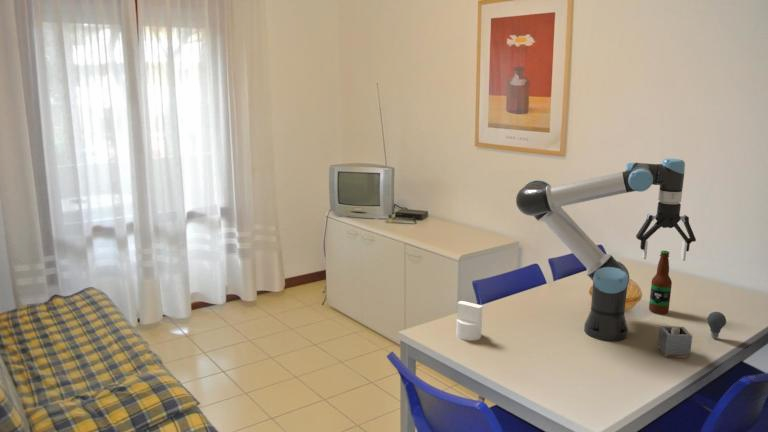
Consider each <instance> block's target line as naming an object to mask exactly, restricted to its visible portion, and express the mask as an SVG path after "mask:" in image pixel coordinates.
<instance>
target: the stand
mask: <svg viewBox="0 0 768 432" xmlns="http://www.w3.org/2000/svg"><path fill="white" fill-rule="evenodd" d="M677 327H678V326H677ZM677 327H672V329H671V334H679V333H680V329H679V328H677ZM658 349H659V350H660V352H661V353H662V354H663V356H664V358H675V359H676V358H677V359H688V356H685V355H665V354H664V353H663V351H662V350H661V348H660V347H659V346H658Z"/></svg>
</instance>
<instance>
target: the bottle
mask: <svg viewBox="0 0 768 432" xmlns="http://www.w3.org/2000/svg"><path fill="white" fill-rule="evenodd" d="M669 257H670V251H668V250H665V249H664V250H661V251H660V254H659V261H658V263H657V267H656V274H655V275H654V276H653V277H652V279H651V284H650V293H649V301H648V303H649V305H648V309H649V312H651V313H652V314H656V315H657V314H658V315H666V314H668V313H669V311H670V302H671V293H672V284H673V282H672V278H671V277H670V275H669V274H670V261H669Z"/></svg>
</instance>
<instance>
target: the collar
mask: <svg viewBox="0 0 768 432" xmlns="http://www.w3.org/2000/svg"><path fill="white" fill-rule="evenodd" d="M672 327H677V328H679V329H680V333H679V334H671V329H672ZM658 329H659V330H658V339H657V346H658V348H659V347H660V348H661V350H662V351H663V353H664V354H665V355H685V356H687V357H689V356H691V349H692V342H693V335H692V334H691V333H690V332H689V331H688V330H687V329H686V328H685V326H671V325H659V327H658ZM661 350H660V351H661ZM663 353H662V354H663ZM664 354H663V355H664Z"/></svg>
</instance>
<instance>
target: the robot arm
mask: <svg viewBox="0 0 768 432" xmlns="http://www.w3.org/2000/svg"><path fill="white" fill-rule="evenodd" d="M685 169H686V163H685V161H684V160H683V159H679V158H663V159H662V161H661V163H645V162H644V163H643V162H628V163H626V166H625V171H620V172H615V173H609V174H607V175H601V176H597V177H593V178H588V179H583V180H579V181H575V182H570V183H566V184H561V185H557V186H551V184H549V183H548V182H547V181H544V180H539V179H537V180H533V181H530V182H528V183H527V184H525V186H523V187H522V188H521V189H520V190H519V191H518V192H517V195H516V197H515V199H516V200H515V201H516V202H515V203H516V206H517V209H518V210H519V211H520V212H521V214H524V215H526V216H529V217H530V216H531V217H534V218H535V220H536V221H538V222H543V223H544V224H546V225H547V227H548V228H549V229H550V230H551V231H552V232H553V233H554V234H555V235H556V237H558V239H559V240H560V241H561V242H562V243H563V244H564V245H565V246H566V247H567V249H569V250H570V252H571V253H572V254H573V255H574V256H575V257H576V258H577V259H578V260H579V262H580V263H581V264H582V265H583V266H584V267H585V268H586V275H587V277H589V279H591V281H592V283H593V284H592V289H591V290H592V292H591V303H590V312H589V313H588V315H587V318H586V320H585V322H584V327H583V331H584V332H585V334H586V335H587V336H589V337H592V338H595V339H598V340H602V341H611V342H612V341H613V342H615V341H616V342H617V341H623V340H624V339H626V338H628V335H629V329H628V325H627V321H626V316H625V310H626V302H627V301H626V300H627V293H628V287H629V284H630V280H631V279H630V272H629V270H628V268H627V267H626V265H625V264H624V263H622V262H621V261H618V260H616V258H614V256H613V255H611V253H604V252H603V251H602V249H601V248H600V247H599V246H598V245H597V244H596V243H595V242H594V241H593V239H591V238H590V236H589V235H588V234H586V232H585V231H584V230H583V228H581V227H580V225H578V223H576V222H575V220H574V219H573V218H572V217H571V216H570V214H568V213H567V212H566V211H565V209H564V208H563V207H565V206H570V205H575V204H579V203H585V202H588V201H594V200H599V199H604V198H607V197H608V198H609V197H613V196H617V195H623V194H628V193H633V192H641V193H642V192H645V191H647V190H649V189H650V188H651V186H652V185H654V186H657V185H658V186H659V190H658V199H657V200H658V202H657V209H656V215H655V214H651V213H648V214H647V216H646V219H645V222H644V223H643V224H642V226H641V228H640V229H639V230H638V232H637V234H636V235H635V238H636V239H637V240H639V241H640V247H639V248H640V250H642V253H641V258H642V259H643V260H646V259H647V253H648V245H649V241H648V239H649V238H651V236H652V235H654V234H655V233H656V232H657V231H658V230H660V228H662V229H667V228H668V229H672V228H675V230H676V231H677V232H678V234H679V235H680V236H681V238H682V239H683V241H682V242H681V251H680V252H681V253H680V260H681V261H683V262H685V261H686V256H687V252H689V251H690V245H691V244H692V243H693V242H697V239H696V236H695V234H694V232H693V230H692V226H691V224H690V217H689V216H688V215H687V214H684V215H680V214H681V208H682V205H681V203H682V196H683V188H684V179H685ZM654 220H656V221H655V223H654V224H653V225H652V226H651V223H652V222H653V221H654ZM680 221H681V222H682V223H683V225H684V227H685V230H686V232H687V234H688V235H687V234H686V233H685V232H684V231H683V229H682V228H681V227H680V225H679V224H678V223H679V222H680ZM650 226H651V228H649V227H650ZM688 236H689V237H688Z"/></svg>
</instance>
